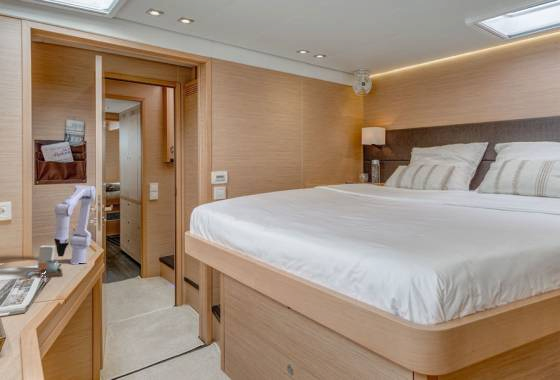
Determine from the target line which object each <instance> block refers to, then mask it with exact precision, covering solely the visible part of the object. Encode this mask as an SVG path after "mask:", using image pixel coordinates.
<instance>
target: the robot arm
mask: <svg viewBox="0 0 560 380" xmlns="http://www.w3.org/2000/svg"><path fill="white" fill-rule="evenodd" d="M73 188H74V189H73V193H72V195H69V196H68V197H66V198H65V199H64V200H63V201H62V202H61V203H58V204H56V206H55V208H54V214H55V219H56V222H55V232H54V234H55V235H52V237H51V238H52V239H53V240H54V243H55V249H56V254H57V256H58V257H59V258H60V257H64V255H65V252H66V249H67V247H68V246H69V245H70V246H71V248H72V251H71V259H69V262H70V265H80V264H79V263H83V262H85V261H87V251H88V248H89V247H90V246H91V243H92V233H91V232H90V231H88V225H89V218H90V213H91V205H92V202H94V201H95V198H96V194H97V190H96V187H95V186H94V185H92V186H91V185H85V184H84V185H83V184H76V185H75V186H74V187H73ZM79 201H80V202H81V204H80V211H79V215H78V220H77V221H78V222H77V228H76V229H75V230H73V231H71V235H70V236H69V232H70V231H69V230H70V219H71V216H72V215H73V211H74V209H75V207H76V206H77V205H78V203H79ZM68 239H69V242H67V241H68Z"/></svg>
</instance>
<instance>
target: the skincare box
mask: <svg viewBox="0 0 560 380" xmlns="http://www.w3.org/2000/svg"><path fill="white" fill-rule="evenodd" d="M55 250H56V245H41V246H39V250H38V260H37V261H38V262H37V270H39V271H40V269H46V262H47V261H49V260H55Z"/></svg>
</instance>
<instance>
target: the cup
mask: <svg viewBox="0 0 560 380" xmlns="http://www.w3.org/2000/svg"><path fill="white" fill-rule="evenodd" d="M58 265H59V260H56V259H54V260H49V261H47V262H46V273H57V268H58ZM46 273H45V274H46Z"/></svg>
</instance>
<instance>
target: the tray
mask: <svg viewBox="0 0 560 380" xmlns="http://www.w3.org/2000/svg"><path fill="white" fill-rule="evenodd" d="M45 271H46V269H40V270H39V276H40V275H41V276H42V275H43V276H47V277H46V278H59V277H60V278H61V277H63V274H64V273H63V270H62V268H61V267H57V273H46V274H42V273H44V272H45Z"/></svg>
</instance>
